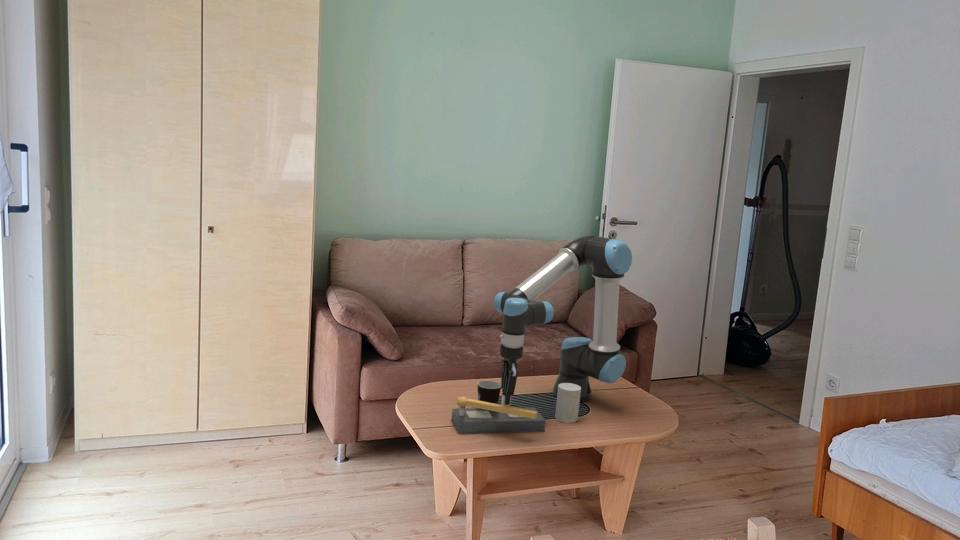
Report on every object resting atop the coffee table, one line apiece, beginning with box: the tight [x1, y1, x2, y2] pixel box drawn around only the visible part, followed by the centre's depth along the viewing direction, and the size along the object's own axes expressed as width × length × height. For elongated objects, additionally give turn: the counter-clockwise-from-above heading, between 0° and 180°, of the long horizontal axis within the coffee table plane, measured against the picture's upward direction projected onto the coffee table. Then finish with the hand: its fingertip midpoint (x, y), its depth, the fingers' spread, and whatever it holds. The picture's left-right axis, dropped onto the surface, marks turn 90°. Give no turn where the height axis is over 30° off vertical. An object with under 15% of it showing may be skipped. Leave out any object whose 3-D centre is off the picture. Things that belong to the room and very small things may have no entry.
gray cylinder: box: [554, 383, 581, 424], centre depth 261 cm, size 8×8×12 cm
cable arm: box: [456, 396, 537, 419], centre depth 243 cm, size 27×4×2 cm, turn 72°
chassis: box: [450, 405, 546, 435], centre depth 250 cm, size 30×12×8 cm, turn 104°
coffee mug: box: [477, 380, 502, 404], centre depth 264 cm, size 12×9×10 cm
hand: (505, 412), depth 245 cm, fingers closed
